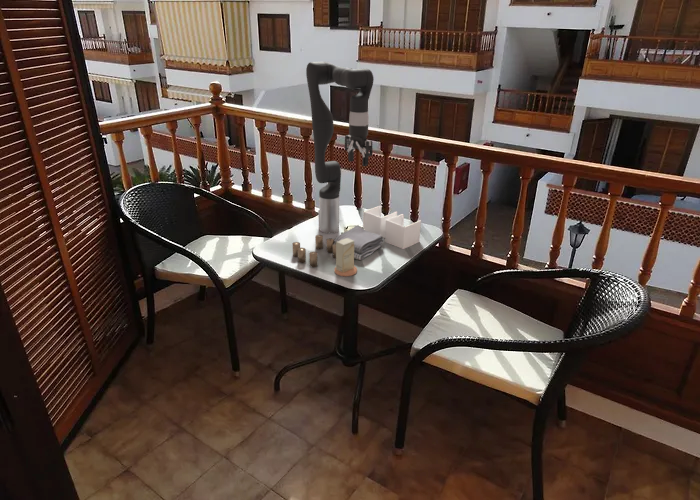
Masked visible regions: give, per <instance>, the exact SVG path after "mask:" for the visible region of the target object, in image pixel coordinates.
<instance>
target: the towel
mask: <svg viewBox="0 0 700 500" xmlns="http://www.w3.org/2000/svg"><path fill="white" fill-rule="evenodd" d="M345 238H349V239H351V240H354V259H356V260H360V261H362V260H365V258H367V257H368V256H371V255H372V254H374V252H375V251H376V250H378V249H380V248H381V247H382V244H383V243H384V240H383V239H384V238H383V237H382V236H380V235H378V234H374V233H371V232H367V231H365V230H364V229H363V226H360V225H359V224H358V225H354V227H352V228H350V229H349V230H346V231H344V232H343V233H341V234H339V235H336V237H335V239H334V244H336V242H337V241H339V240H342V239H345Z"/></svg>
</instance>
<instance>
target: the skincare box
mask: <svg viewBox="0 0 700 500" xmlns="http://www.w3.org/2000/svg"><path fill="white" fill-rule="evenodd" d="M354 266H355V258H354V240H351V239H349V238H345V239H342V240H339V241H337V242H336V259H335V267H336V269H337V270H339V271H341V272H343V273H344V272H346V271H349V270H351V269H353V268H354Z"/></svg>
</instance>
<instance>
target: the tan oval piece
mask: <svg viewBox="0 0 700 500" xmlns="http://www.w3.org/2000/svg"><path fill="white" fill-rule="evenodd" d="M357 272H358V268H357V267H356V266H355V265H354V268H353V269H351V270H349V271H346V272H344V273H343V272H341V271H339V270H337V269H336V266H335V267H334V274H336V275H337V276H340V277H351V276H354V275H356V274H357Z"/></svg>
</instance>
